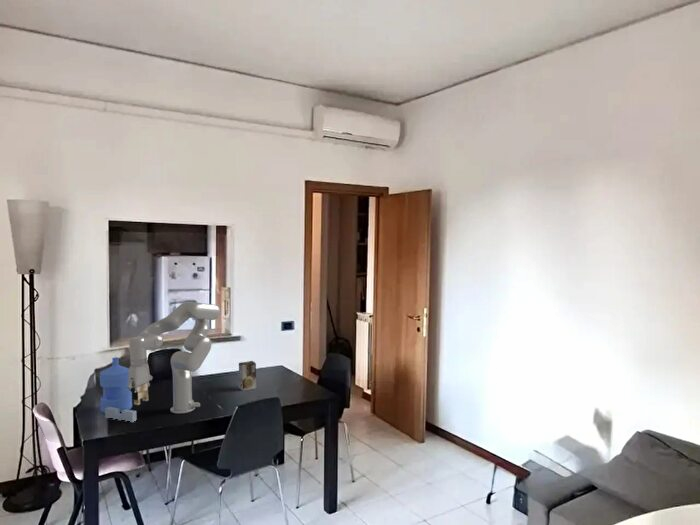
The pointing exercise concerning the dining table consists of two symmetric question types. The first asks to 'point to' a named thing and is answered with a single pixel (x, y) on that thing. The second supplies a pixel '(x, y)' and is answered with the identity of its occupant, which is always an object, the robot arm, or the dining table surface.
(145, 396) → the notched wooden block
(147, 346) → the robot arm
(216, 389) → the dining table surface
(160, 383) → the dining table surface
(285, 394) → the dining table surface
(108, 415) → the plain gray rectangular bar
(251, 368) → the coffee box
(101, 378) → the water jug
